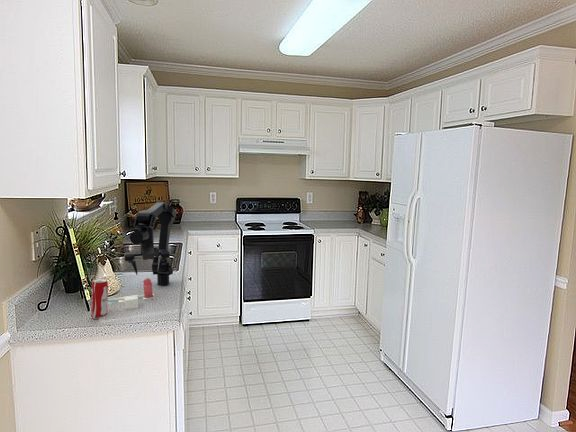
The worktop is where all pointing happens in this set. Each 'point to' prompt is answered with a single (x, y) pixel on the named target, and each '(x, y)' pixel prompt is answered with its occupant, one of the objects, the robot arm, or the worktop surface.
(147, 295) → the red cylinder
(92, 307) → the beverage can
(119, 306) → the worktop surface
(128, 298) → the die
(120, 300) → the board
